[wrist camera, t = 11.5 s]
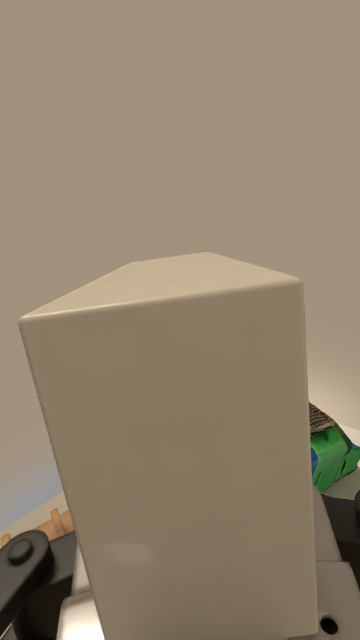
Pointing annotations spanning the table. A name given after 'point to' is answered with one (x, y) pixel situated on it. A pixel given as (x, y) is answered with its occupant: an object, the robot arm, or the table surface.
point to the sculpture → (329, 450)
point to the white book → (184, 446)
